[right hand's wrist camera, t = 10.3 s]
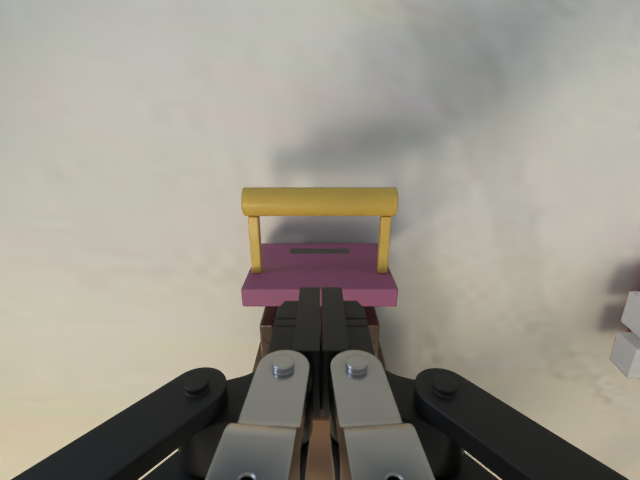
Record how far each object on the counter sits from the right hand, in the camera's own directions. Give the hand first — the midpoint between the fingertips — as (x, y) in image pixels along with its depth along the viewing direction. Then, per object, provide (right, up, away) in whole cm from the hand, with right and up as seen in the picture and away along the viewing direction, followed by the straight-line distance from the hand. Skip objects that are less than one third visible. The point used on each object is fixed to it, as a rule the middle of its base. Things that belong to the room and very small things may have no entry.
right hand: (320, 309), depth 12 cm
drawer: (0, -2, +16) cm, 16 cm away
